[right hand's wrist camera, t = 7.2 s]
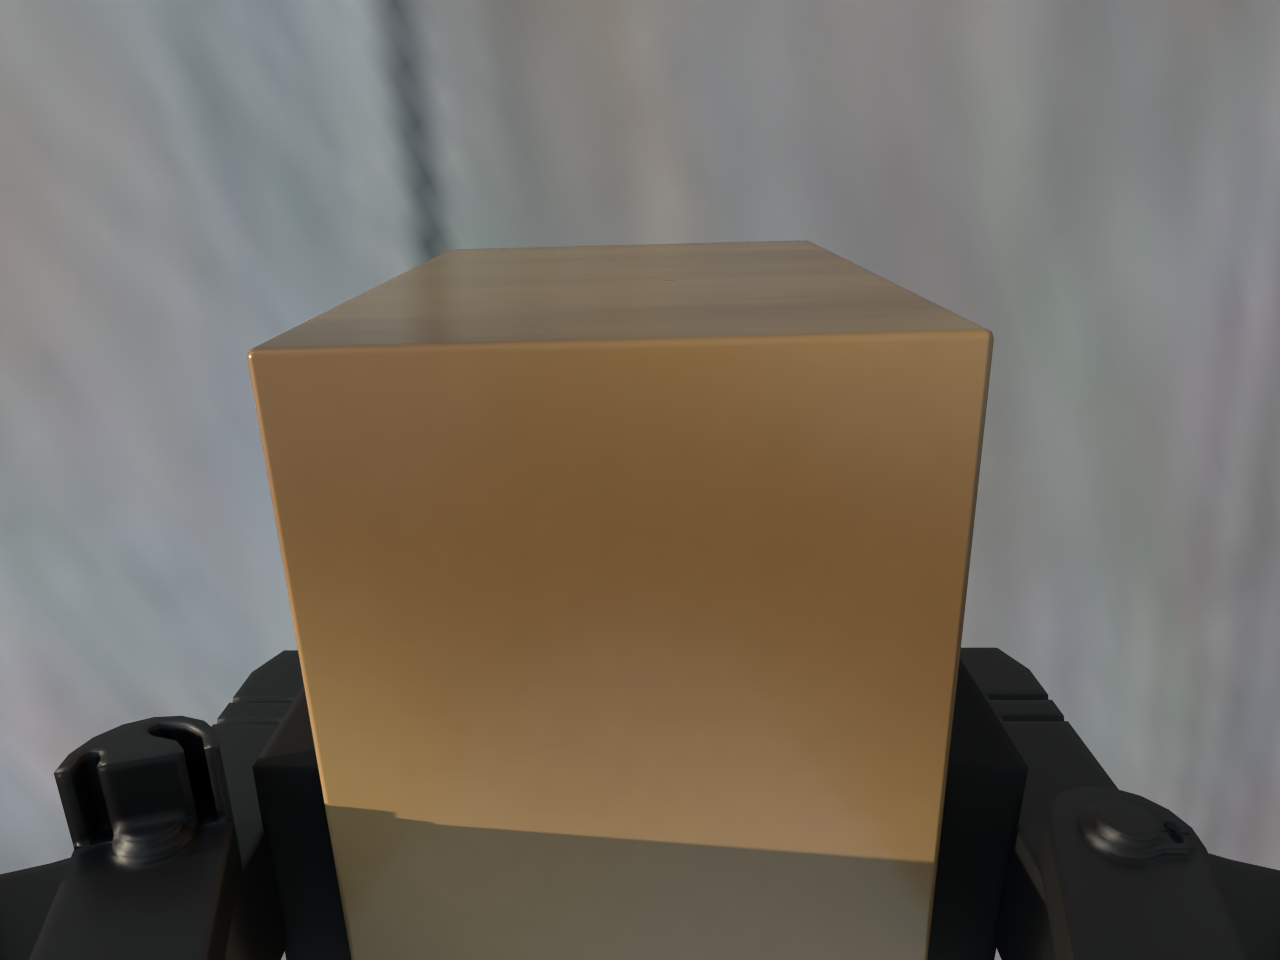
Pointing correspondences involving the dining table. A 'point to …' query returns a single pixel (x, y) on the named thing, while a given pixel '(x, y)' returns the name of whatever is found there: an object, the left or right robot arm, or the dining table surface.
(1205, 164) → the dining table surface
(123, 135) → the dining table surface
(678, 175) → the dining table surface
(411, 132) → the dining table surface
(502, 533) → the bar
